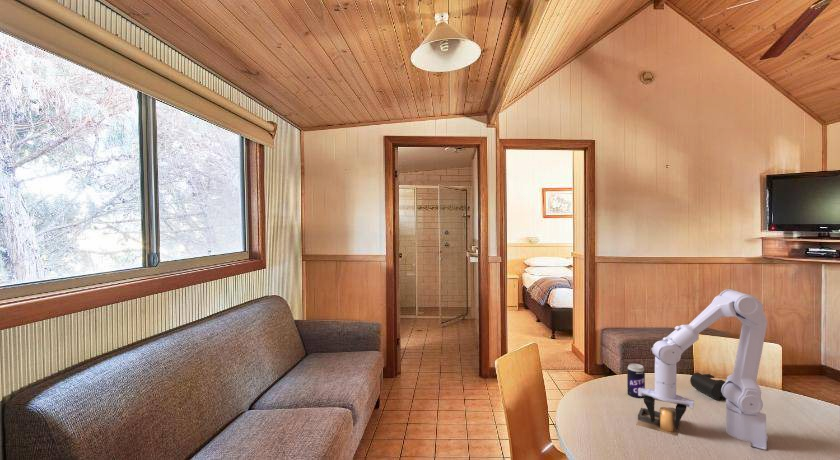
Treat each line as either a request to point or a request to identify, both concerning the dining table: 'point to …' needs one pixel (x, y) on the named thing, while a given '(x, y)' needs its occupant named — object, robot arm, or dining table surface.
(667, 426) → the orange capsule
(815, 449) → the dining table surface
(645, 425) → the housing
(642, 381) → the beverage can
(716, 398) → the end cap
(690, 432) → the dining table surface
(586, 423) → the dining table surface
